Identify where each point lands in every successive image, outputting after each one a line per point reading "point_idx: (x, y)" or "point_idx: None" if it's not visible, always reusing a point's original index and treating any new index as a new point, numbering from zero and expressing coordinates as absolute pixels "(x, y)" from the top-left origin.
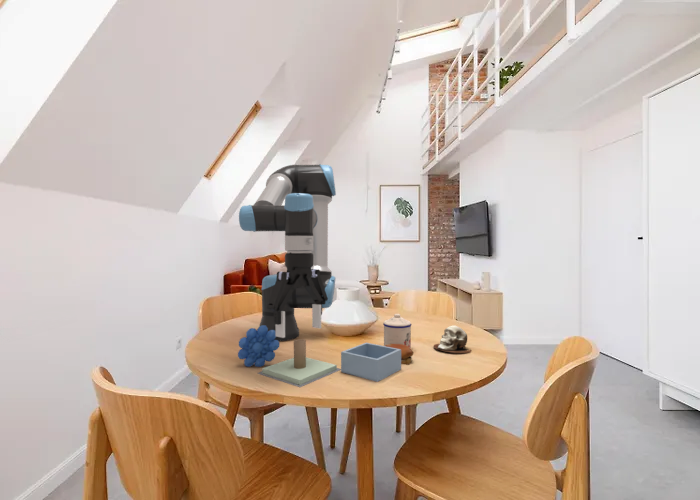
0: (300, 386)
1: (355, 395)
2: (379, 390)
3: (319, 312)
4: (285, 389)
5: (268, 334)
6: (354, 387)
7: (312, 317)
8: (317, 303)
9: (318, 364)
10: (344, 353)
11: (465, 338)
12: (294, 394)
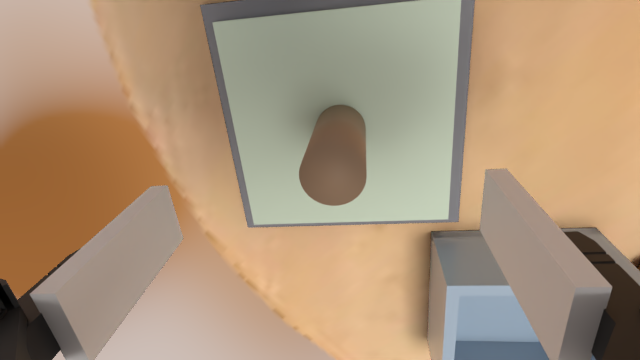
0: (252, 224)
1: (330, 335)
2: (393, 357)
3: (523, 309)
4: (219, 191)
5: None
6: (368, 311)
7: (512, 206)
8: (601, 340)
9: (409, 165)
10: (445, 297)
11: None
12: (220, 233)
